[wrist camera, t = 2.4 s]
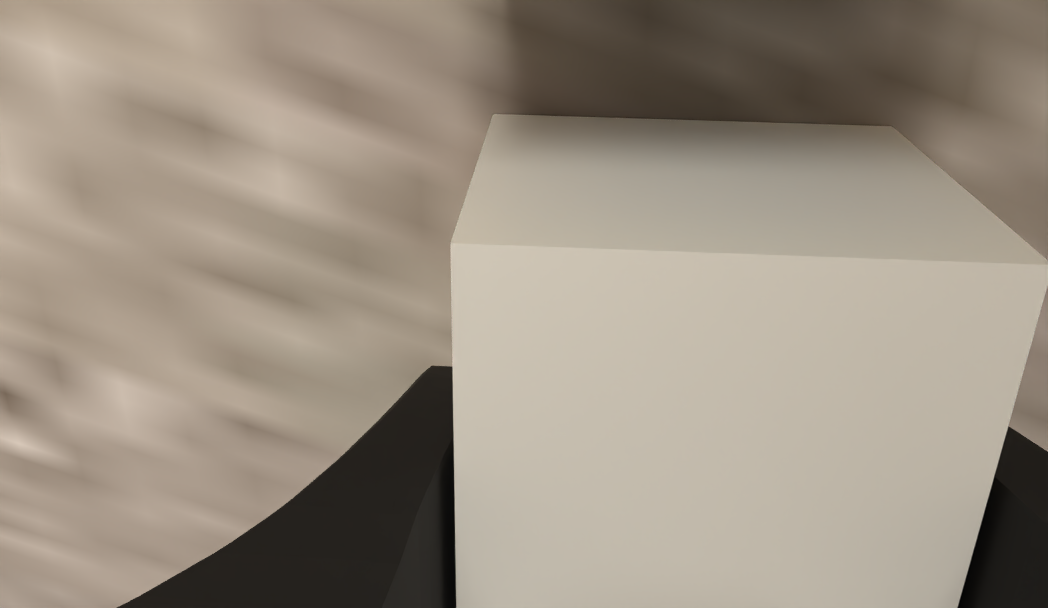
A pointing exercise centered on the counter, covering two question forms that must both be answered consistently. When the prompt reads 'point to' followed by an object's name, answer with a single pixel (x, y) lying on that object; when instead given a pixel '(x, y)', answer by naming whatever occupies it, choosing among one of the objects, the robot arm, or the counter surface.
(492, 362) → the cream brick
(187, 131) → the counter surface
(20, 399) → the counter surface
